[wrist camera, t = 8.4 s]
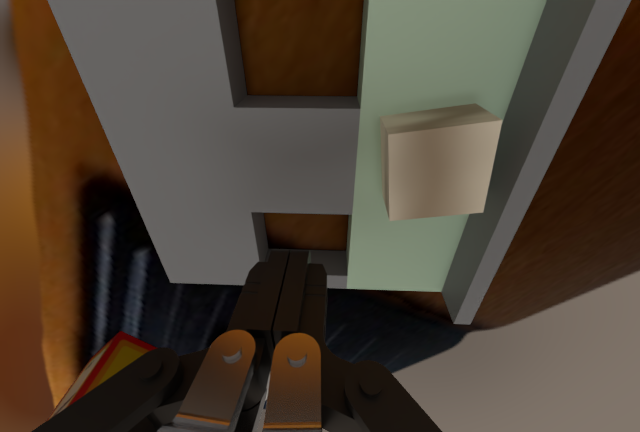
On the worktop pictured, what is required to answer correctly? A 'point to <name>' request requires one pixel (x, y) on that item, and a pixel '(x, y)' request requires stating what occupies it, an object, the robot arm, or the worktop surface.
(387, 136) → the birch block
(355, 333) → the worktop surface
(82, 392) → the baking soda box
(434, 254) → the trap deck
